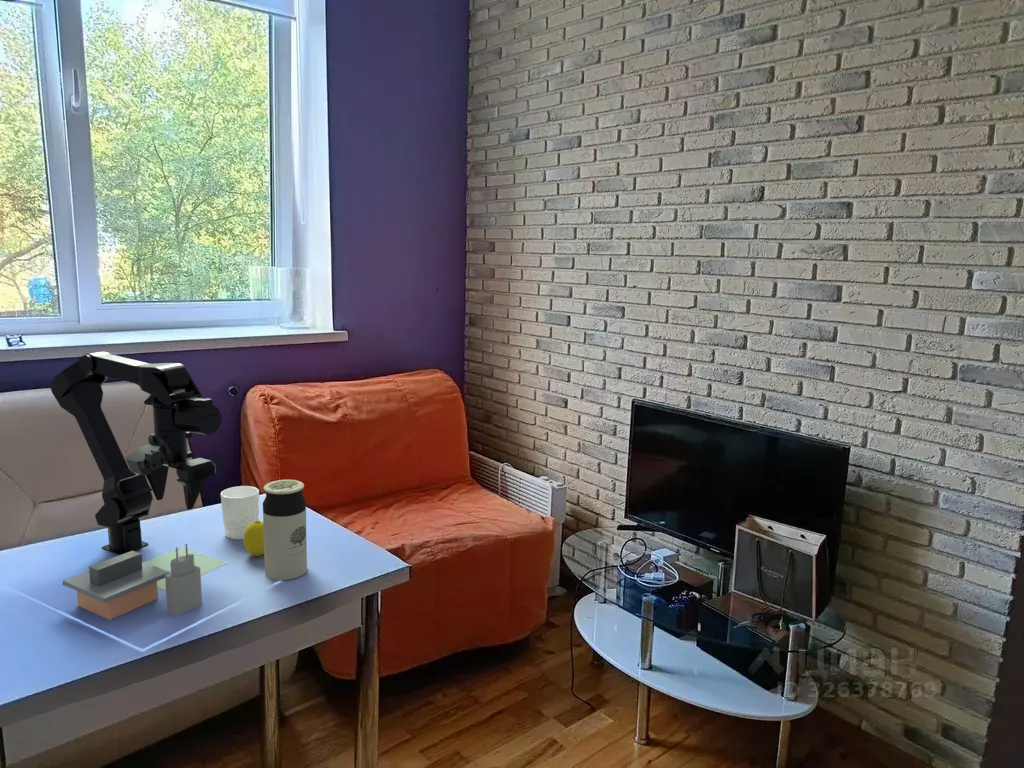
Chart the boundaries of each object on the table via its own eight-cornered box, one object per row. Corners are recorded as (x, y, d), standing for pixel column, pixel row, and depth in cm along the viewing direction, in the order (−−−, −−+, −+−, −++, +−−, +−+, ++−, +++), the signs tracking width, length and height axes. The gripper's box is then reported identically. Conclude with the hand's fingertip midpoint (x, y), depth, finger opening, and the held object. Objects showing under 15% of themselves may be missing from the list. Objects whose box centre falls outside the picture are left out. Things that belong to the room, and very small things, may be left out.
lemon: (263, 564, 146) (262, 526, 144) (238, 561, 147) (237, 523, 145) (277, 553, 151) (276, 517, 150) (253, 550, 152) (252, 514, 151)
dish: (78, 607, 126) (76, 583, 126) (126, 587, 134) (125, 565, 133) (109, 621, 122) (107, 597, 121) (157, 600, 130) (156, 577, 129)
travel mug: (257, 571, 142) (254, 484, 139) (293, 560, 148) (291, 476, 145) (278, 585, 137) (275, 495, 134) (314, 572, 143) (313, 486, 140)
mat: (118, 574, 139) (118, 572, 139) (182, 549, 152) (182, 547, 151) (165, 592, 133) (164, 590, 133) (227, 565, 145) (227, 563, 145)
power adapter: (204, 605, 129) (201, 542, 126) (176, 618, 124) (172, 553, 122) (193, 601, 130) (189, 538, 128) (165, 613, 126) (161, 548, 123)
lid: (62, 584, 125) (61, 564, 124) (128, 560, 135) (126, 541, 135) (104, 603, 119) (103, 581, 119) (169, 575, 130) (168, 556, 129)
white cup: (252, 542, 156) (251, 498, 154) (216, 541, 156) (214, 497, 154) (265, 528, 164) (264, 486, 162) (230, 527, 164) (229, 485, 162)
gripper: (101, 429, 138) (107, 506, 141) (163, 445, 130) (168, 527, 133) (154, 418, 148) (158, 491, 151) (216, 432, 139) (219, 509, 142)
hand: (174, 504), depth 144 cm, fingers open, 9 cm apart
